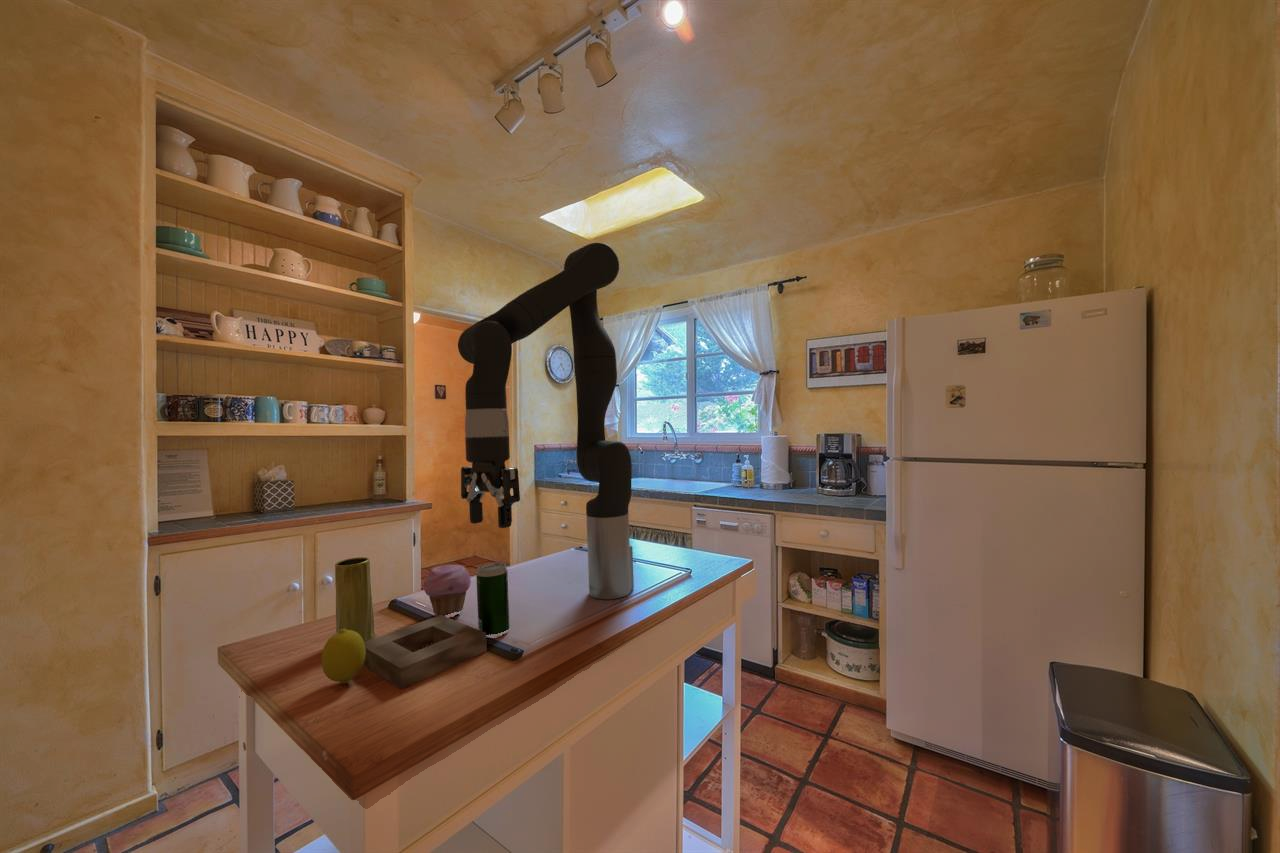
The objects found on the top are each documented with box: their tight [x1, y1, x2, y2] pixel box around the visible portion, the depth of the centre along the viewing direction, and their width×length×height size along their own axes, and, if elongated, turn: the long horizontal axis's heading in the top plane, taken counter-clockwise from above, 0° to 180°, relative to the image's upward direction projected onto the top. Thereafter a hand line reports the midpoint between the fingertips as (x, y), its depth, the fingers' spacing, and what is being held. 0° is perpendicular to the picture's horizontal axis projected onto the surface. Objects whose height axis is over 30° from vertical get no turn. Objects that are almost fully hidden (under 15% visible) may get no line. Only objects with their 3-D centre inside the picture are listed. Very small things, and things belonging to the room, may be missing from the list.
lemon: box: [321, 629, 366, 685], centre depth 71 cm, size 6×6×8 cm
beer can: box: [475, 562, 510, 635], centre depth 87 cm, size 5×5×12 cm
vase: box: [334, 556, 376, 642], centre depth 85 cm, size 6×6×14 cm
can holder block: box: [363, 615, 488, 690], centre depth 78 cm, size 14×14×3 cm
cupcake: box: [422, 564, 472, 616], centre depth 96 cm, size 9×9×10 cm
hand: (490, 525), depth 87 cm, fingers open, 8 cm apart
